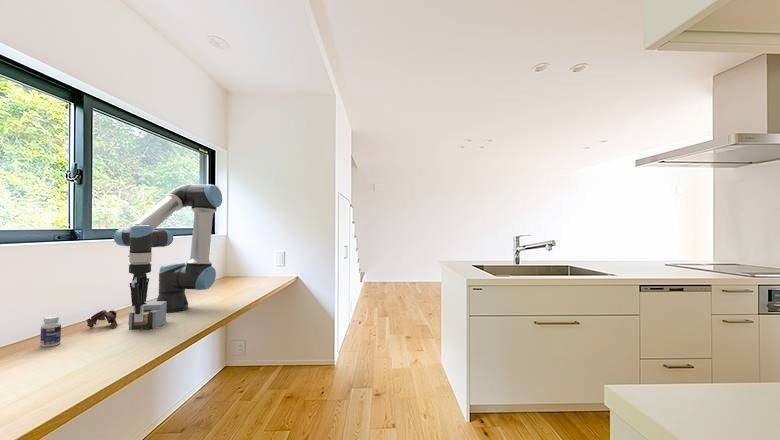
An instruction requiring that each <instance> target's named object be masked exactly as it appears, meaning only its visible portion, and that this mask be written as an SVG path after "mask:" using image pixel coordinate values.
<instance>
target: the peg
mask: <svg viewBox="0 0 780 440" xmlns="http://www.w3.org/2000/svg"><path fill="white" fill-rule="evenodd" d="M151 311H152V310H144V311H143V321H142V322H134V325H145V324H147V323H149V312H151Z"/></svg>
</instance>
